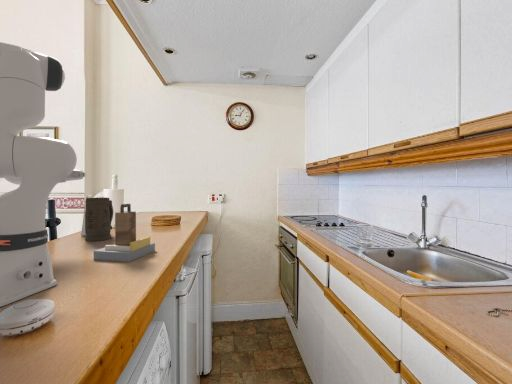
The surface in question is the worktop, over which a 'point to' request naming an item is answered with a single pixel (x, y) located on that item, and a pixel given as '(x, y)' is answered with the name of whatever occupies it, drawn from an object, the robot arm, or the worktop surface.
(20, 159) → the robot arm
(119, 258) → the dock
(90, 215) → the beer stein
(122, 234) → the brown handled block
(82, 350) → the worktop surface
